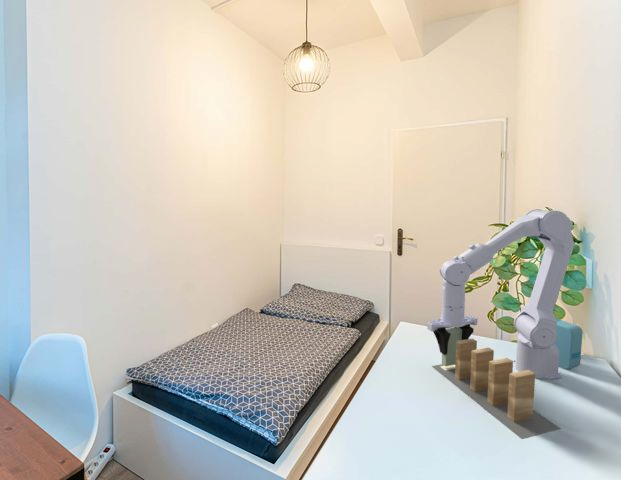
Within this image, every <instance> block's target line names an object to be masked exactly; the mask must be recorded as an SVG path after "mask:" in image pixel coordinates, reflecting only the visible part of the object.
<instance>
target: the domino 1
mask: <svg viewBox="0 0 621 480" xmlns="http://www.w3.org/2000/svg"><path fill="white" fill-rule="evenodd" d="M477 344H478V340H476V339H474V338H469V339H466V340H460V341H456V364H455V377H456V378H457V379H458V380H463V379H469V378H471V352H472V350H477V348H478V347H477V346H478V345H477Z"/></svg>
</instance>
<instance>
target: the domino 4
mask: <svg viewBox="0 0 621 480" xmlns="http://www.w3.org/2000/svg"><path fill="white" fill-rule="evenodd" d="M535 383H536V378H535V373H533V372H532V371H530V370H525V371H520V372H519V371H516V372H515V371H514V372H512V373H510V374H509V393H508V412H507V417H508V418H509V419H510V420H511V421H513V422H516V421H520V420H525V419H529V418H533V410H534V401H535V385H536V384H535Z"/></svg>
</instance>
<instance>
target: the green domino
mask: <svg viewBox="0 0 621 480" xmlns="http://www.w3.org/2000/svg"><path fill="white" fill-rule="evenodd" d="M446 330H447V332H448V333H450V334H451V335H450V338H449V341H448V351H447V355H444V354H442V353H441V364H443V365H444V366H450V365H455V364H456V341H460V340H462V329H461V328H459V327H456V328H454V327H452V328H446Z"/></svg>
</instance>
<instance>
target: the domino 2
mask: <svg viewBox="0 0 621 480" xmlns="http://www.w3.org/2000/svg"><path fill="white" fill-rule="evenodd" d="M494 352H495V351H494V349H492V348H491V347H483V348H478V349H477V350H472V352H471V380H470V389H471V390H473V391H474V392H479V391H484V390H488V377H489V361H493V360H494V355H495V354H494Z"/></svg>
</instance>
